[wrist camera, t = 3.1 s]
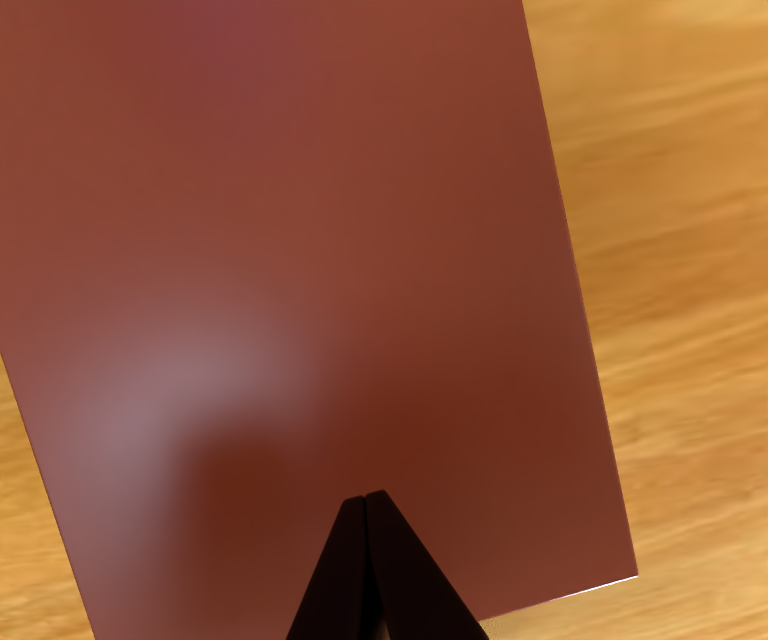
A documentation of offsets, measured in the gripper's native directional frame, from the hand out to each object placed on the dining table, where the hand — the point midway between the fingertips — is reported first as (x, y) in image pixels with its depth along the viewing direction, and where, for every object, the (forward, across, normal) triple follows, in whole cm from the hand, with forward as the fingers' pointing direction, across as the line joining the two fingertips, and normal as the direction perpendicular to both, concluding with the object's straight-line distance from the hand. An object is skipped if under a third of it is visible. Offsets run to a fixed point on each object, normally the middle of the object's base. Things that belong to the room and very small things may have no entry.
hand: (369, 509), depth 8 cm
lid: (+3, +1, -3) cm, 5 cm away
